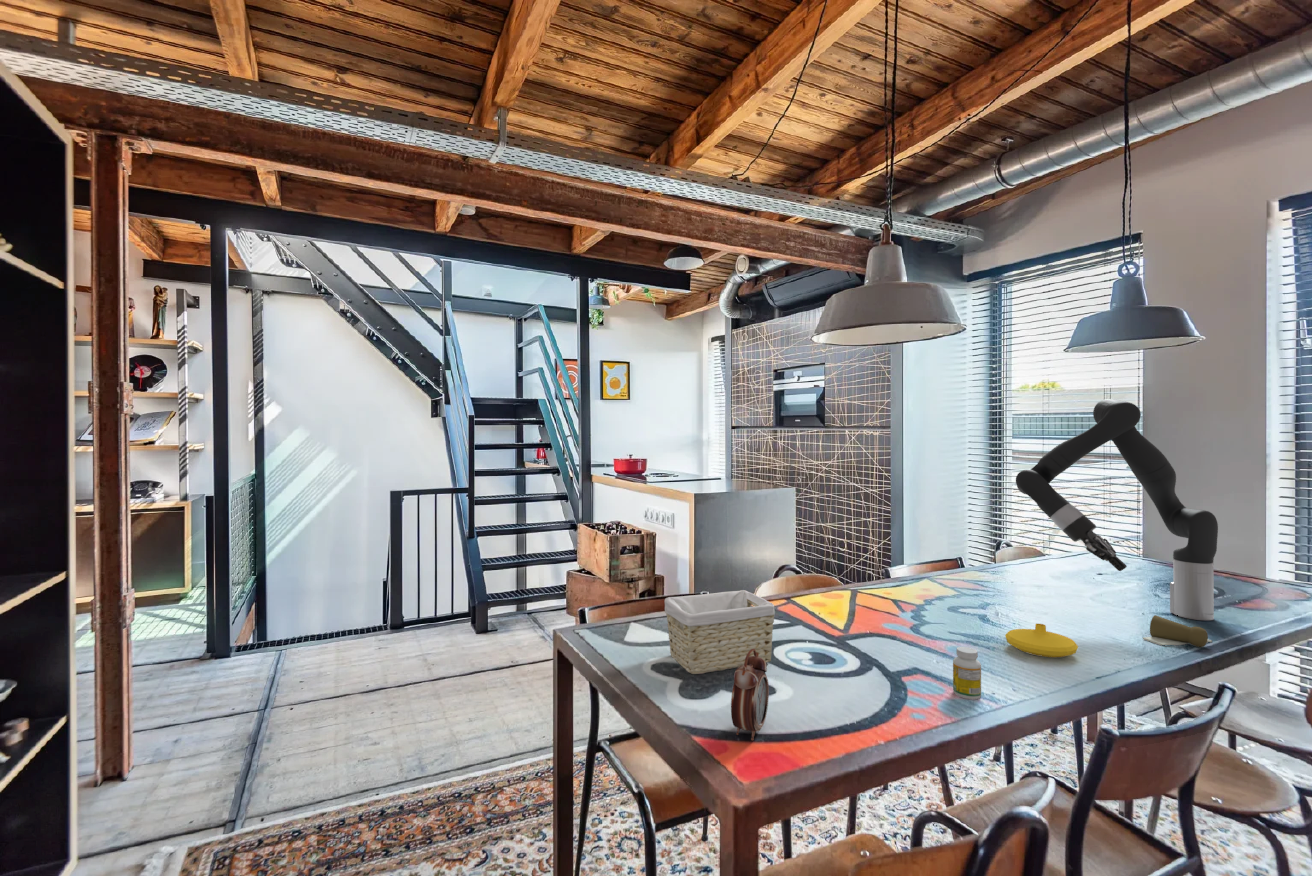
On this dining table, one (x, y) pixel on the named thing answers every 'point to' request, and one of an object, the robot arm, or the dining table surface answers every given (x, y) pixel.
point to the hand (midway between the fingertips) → (1123, 569)
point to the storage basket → (718, 629)
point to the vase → (1041, 642)
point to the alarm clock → (750, 694)
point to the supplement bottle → (967, 674)
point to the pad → (1166, 641)
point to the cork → (1177, 632)
